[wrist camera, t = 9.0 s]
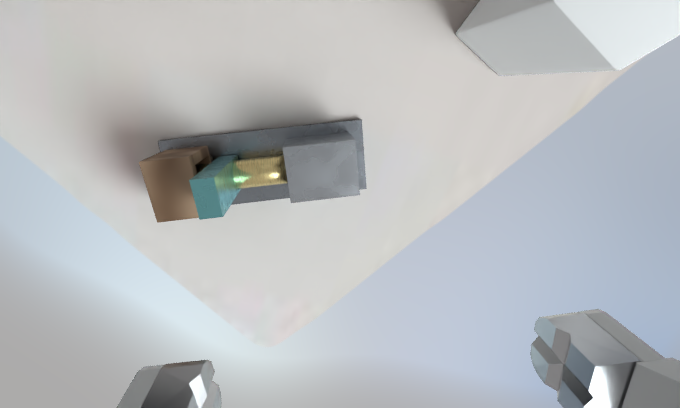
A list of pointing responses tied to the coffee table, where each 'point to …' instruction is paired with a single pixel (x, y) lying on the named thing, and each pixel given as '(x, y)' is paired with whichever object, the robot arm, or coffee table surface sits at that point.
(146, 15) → the coffee table surface
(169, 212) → the socket
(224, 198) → the rod
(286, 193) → the grey base plate
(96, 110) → the coffee table surface
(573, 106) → the coffee table surface
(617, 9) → the milk carton
